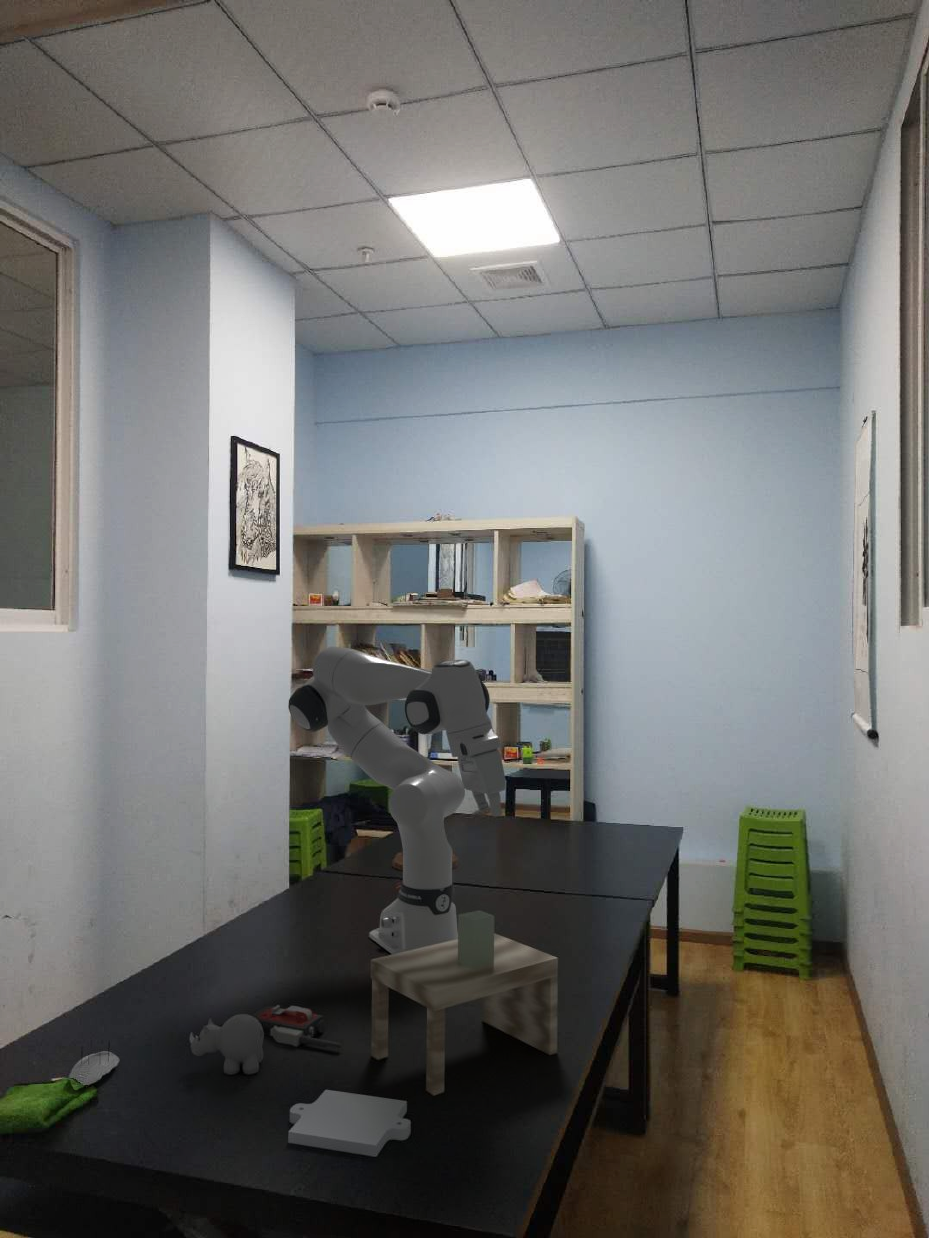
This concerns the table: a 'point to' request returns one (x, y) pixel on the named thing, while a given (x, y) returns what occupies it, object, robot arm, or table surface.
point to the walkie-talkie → (293, 1025)
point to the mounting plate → (349, 1122)
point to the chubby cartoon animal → (233, 1043)
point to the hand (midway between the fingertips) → (490, 813)
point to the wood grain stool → (469, 995)
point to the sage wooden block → (476, 939)
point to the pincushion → (94, 1066)
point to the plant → (398, 861)
